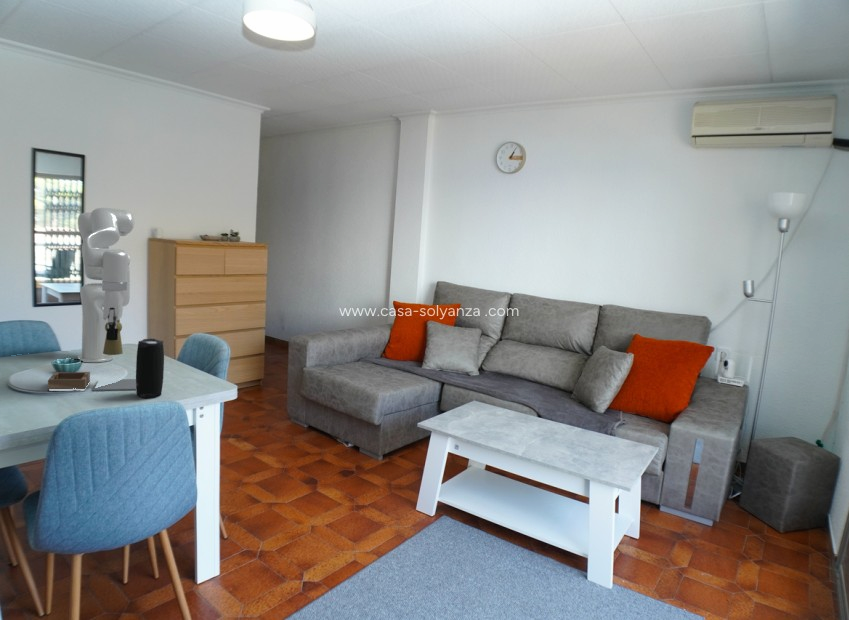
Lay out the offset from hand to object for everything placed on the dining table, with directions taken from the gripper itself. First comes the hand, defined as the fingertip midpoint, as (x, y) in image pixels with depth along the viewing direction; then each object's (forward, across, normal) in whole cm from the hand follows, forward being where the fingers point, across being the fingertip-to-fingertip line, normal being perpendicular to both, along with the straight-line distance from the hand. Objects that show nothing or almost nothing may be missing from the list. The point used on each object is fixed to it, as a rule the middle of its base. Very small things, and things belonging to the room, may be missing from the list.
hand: (113, 337), depth 189 cm
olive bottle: (+6, 0, 0) cm, 6 cm away
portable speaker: (+17, +13, +13) cm, 25 cm away
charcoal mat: (+17, 0, +1) cm, 17 cm away
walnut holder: (+17, +1, -13) cm, 21 cm away
